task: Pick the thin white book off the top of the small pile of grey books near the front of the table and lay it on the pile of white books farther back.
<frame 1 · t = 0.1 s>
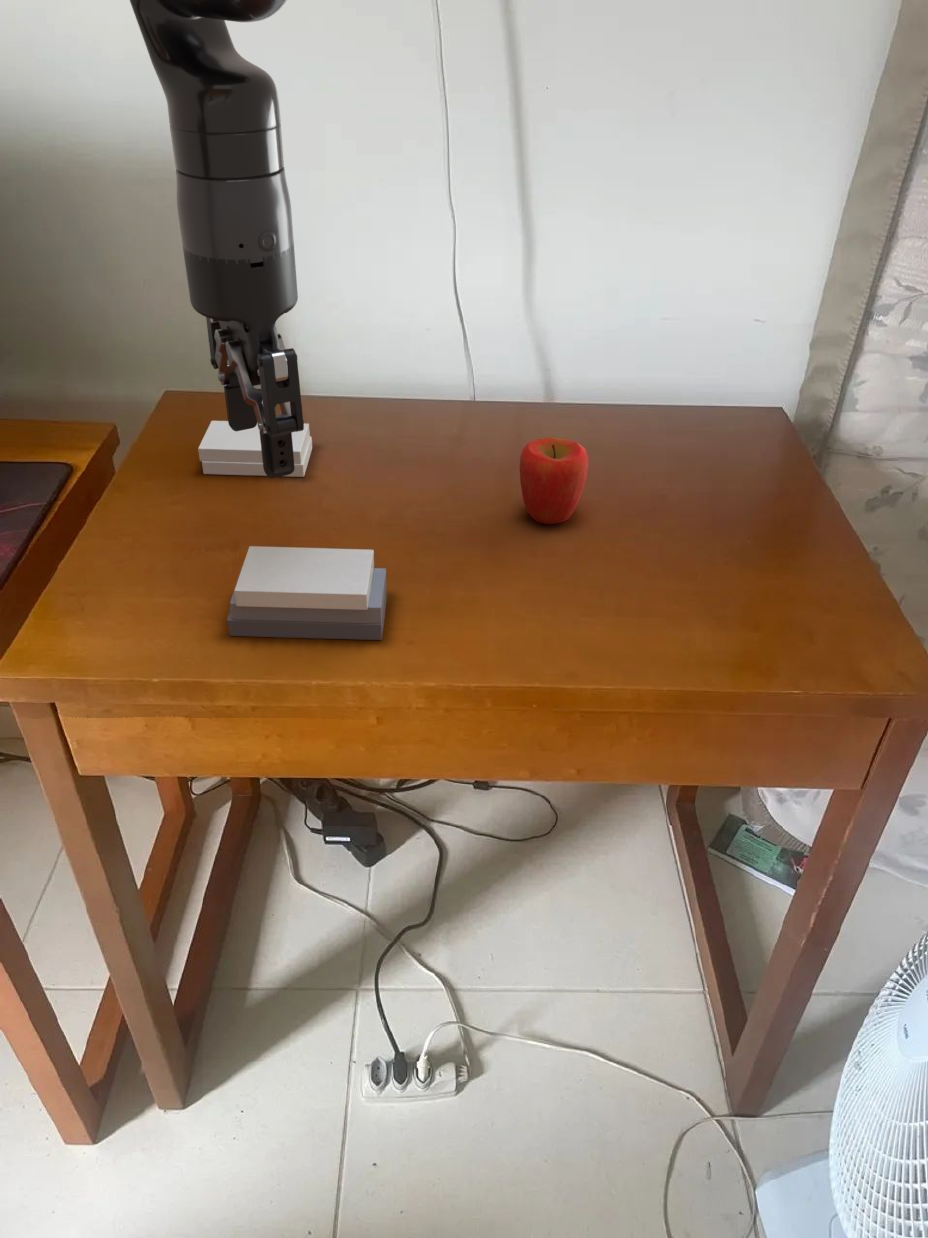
hand: (261, 450, 77), 12 cm above the table, tool pointing down, fingers open, 8 cm apart
grey books: (310, 617, 79), on the table
apple: (549, 517, 93), on the table
white books: (259, 460, 100), on the table
white book: (307, 585, 77), point 3 cm above the table, touching grey books
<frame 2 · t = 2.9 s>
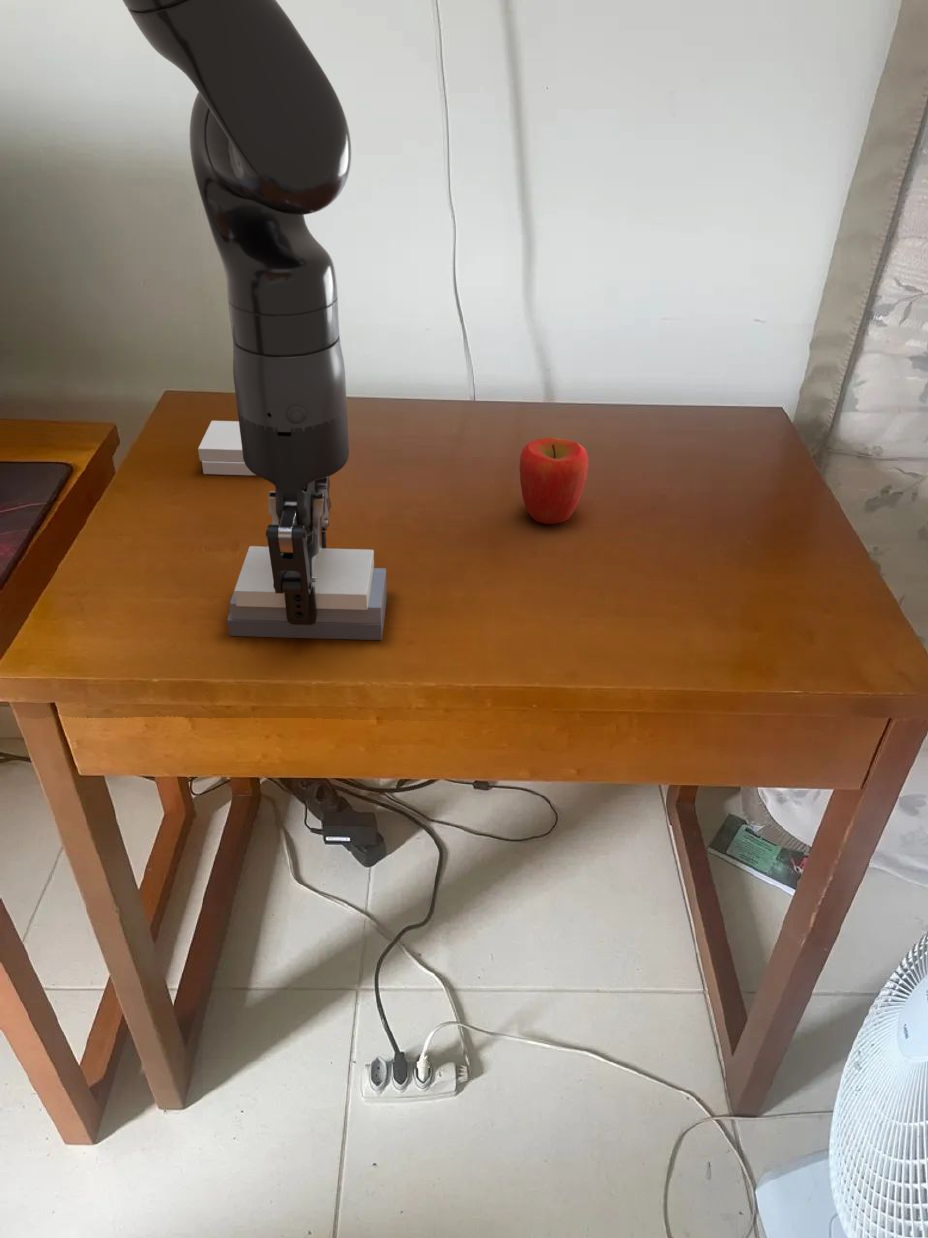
hand: (308, 595, 78), 2 cm above the table, tool pointing down, fingers closed on white book, 6 cm apart
white book: (307, 585, 77), point 3 cm above the table, touching grey books, gripper
everything else where it was.
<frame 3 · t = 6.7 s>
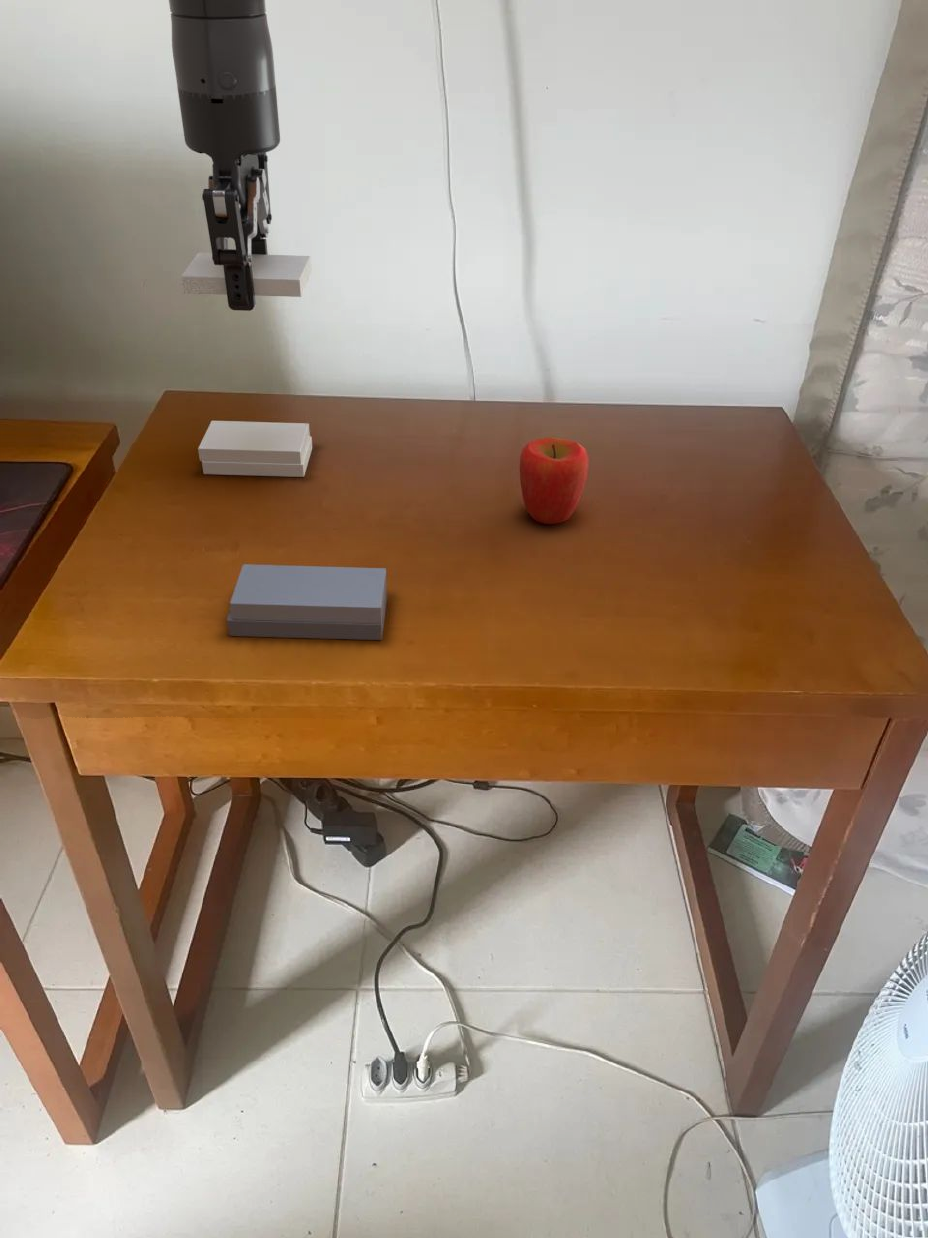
hand: (250, 294, 86), 18 cm above the table, tool pointing down, fingers closed on white book, 6 cm apart
white book: (249, 282, 86), point 19 cm above the table, touching gripper
everything else where it was.
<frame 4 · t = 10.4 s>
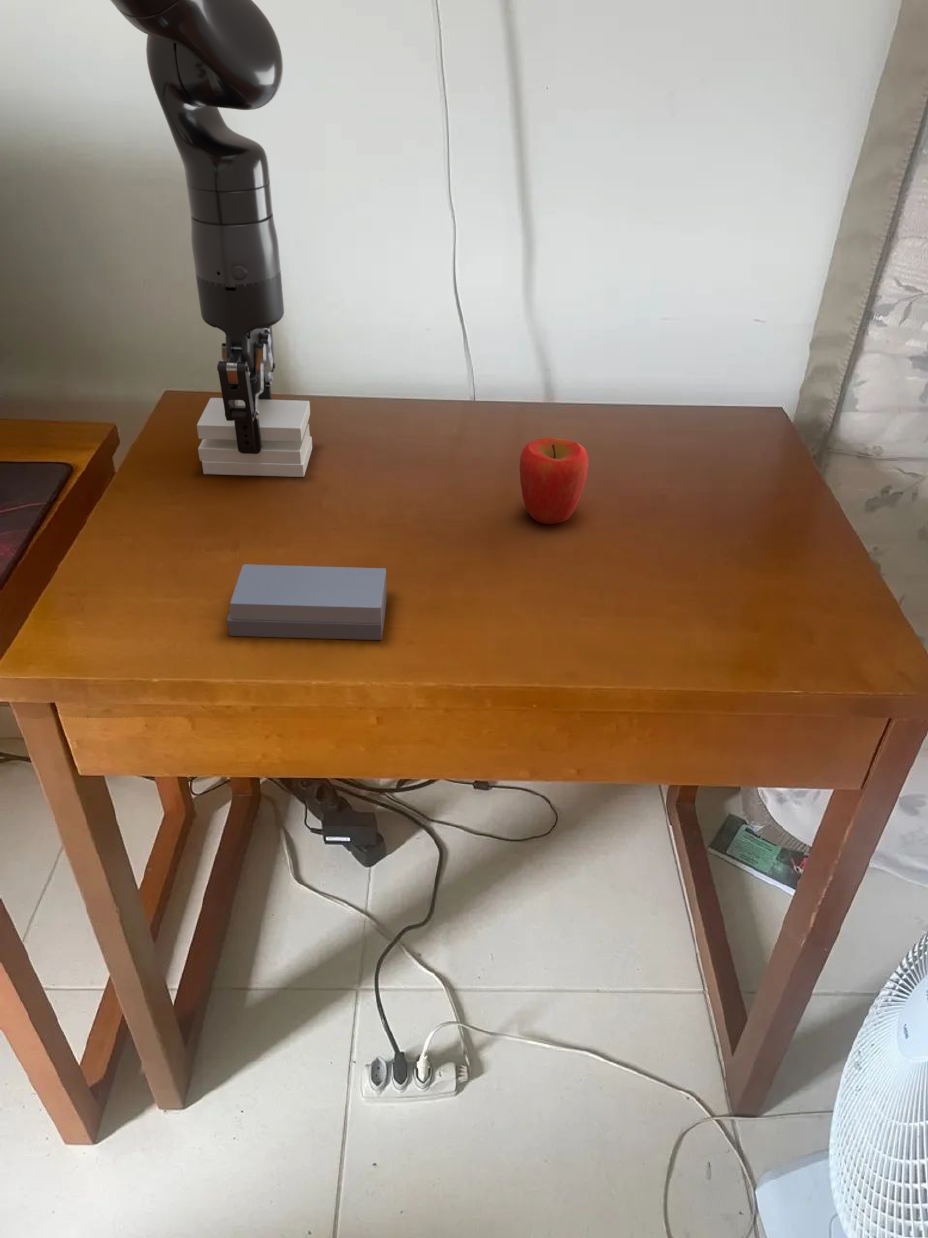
hand: (256, 435, 98), 3 cm above the table, tool pointing down, fingers closed on white book, 6 cm apart
white book: (255, 426, 98), point 4 cm above the table, touching gripper
everything else where it was.
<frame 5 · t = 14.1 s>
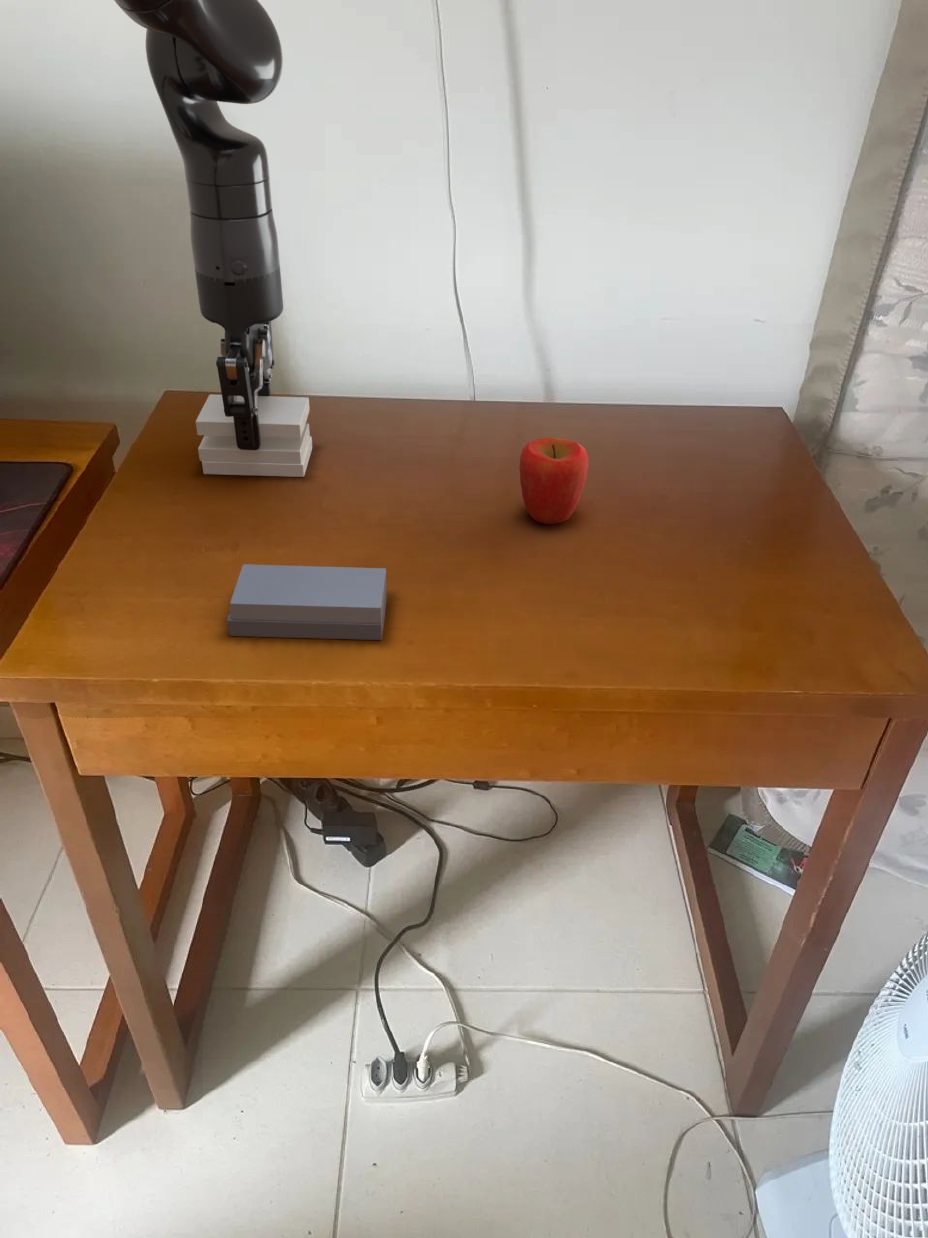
hand: (255, 432, 98), 3 cm above the table, tool pointing down, fingers closed on white book, 6 cm apart
white book: (255, 422, 97), point 4 cm above the table, touching gripper
everything else where it was.
when the fingers open (4 cm above the table, at t = 17.7 s): white book drops 2 cm, resting on white books.
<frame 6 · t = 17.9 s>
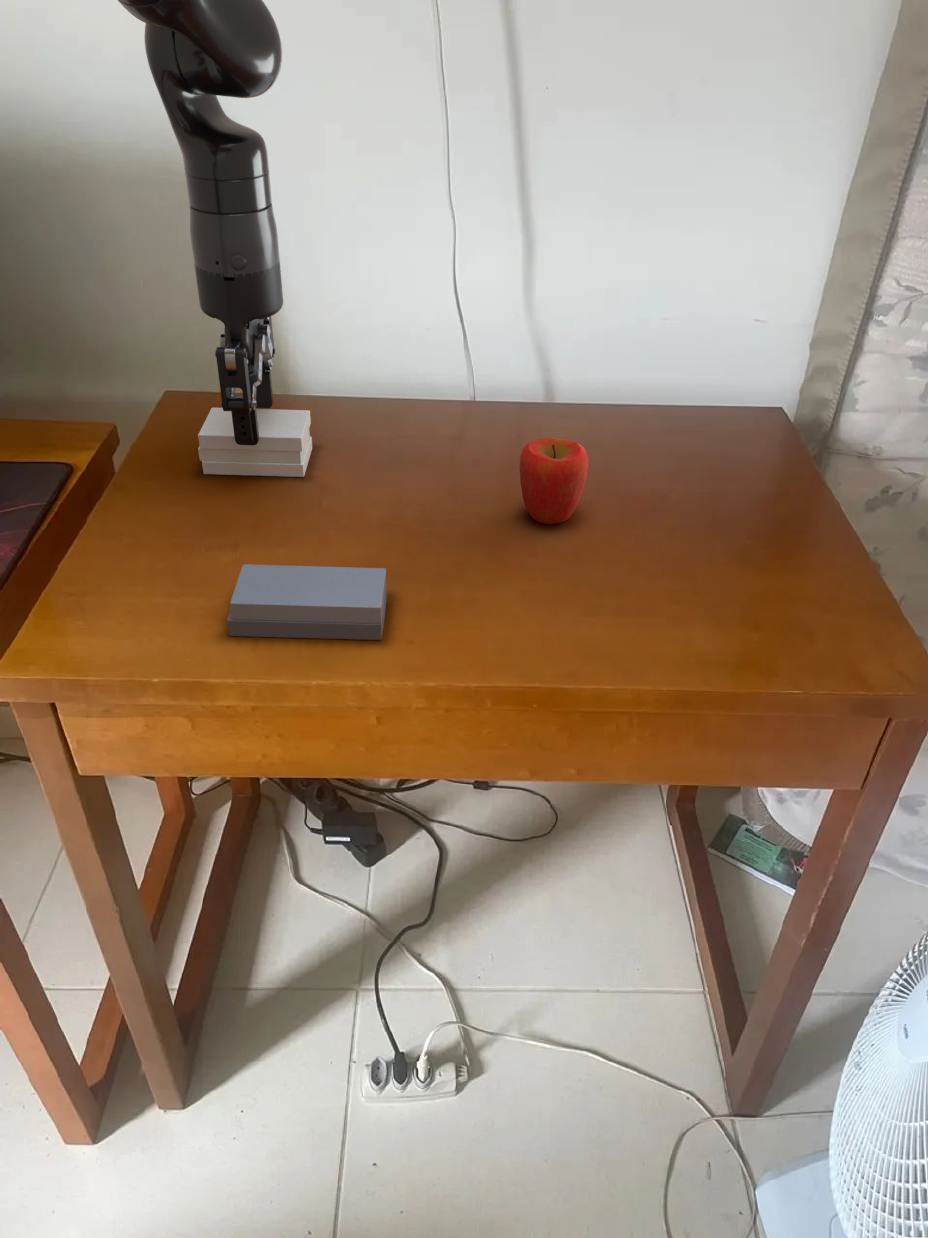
hand: (255, 424, 97), 4 cm above the table, tool pointing down, fingers open, 7 cm apart
white book: (256, 435, 98), point 3 cm above the table, touching white books
everything else where it was.
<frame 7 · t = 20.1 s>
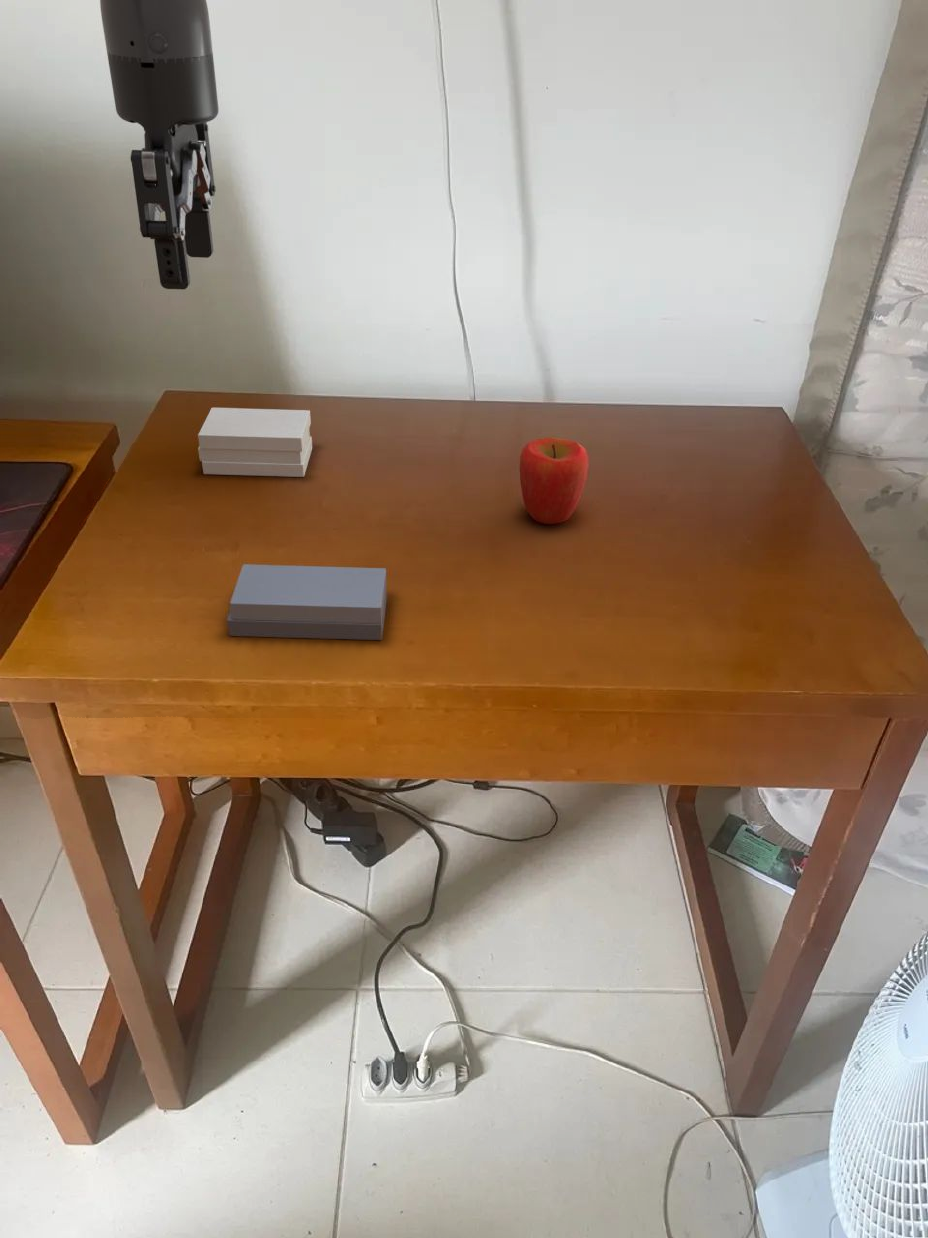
hand: (188, 271, 81), 21 cm above the table, tool pointing down, fingers open, 8 cm apart
nothing on the table moved.
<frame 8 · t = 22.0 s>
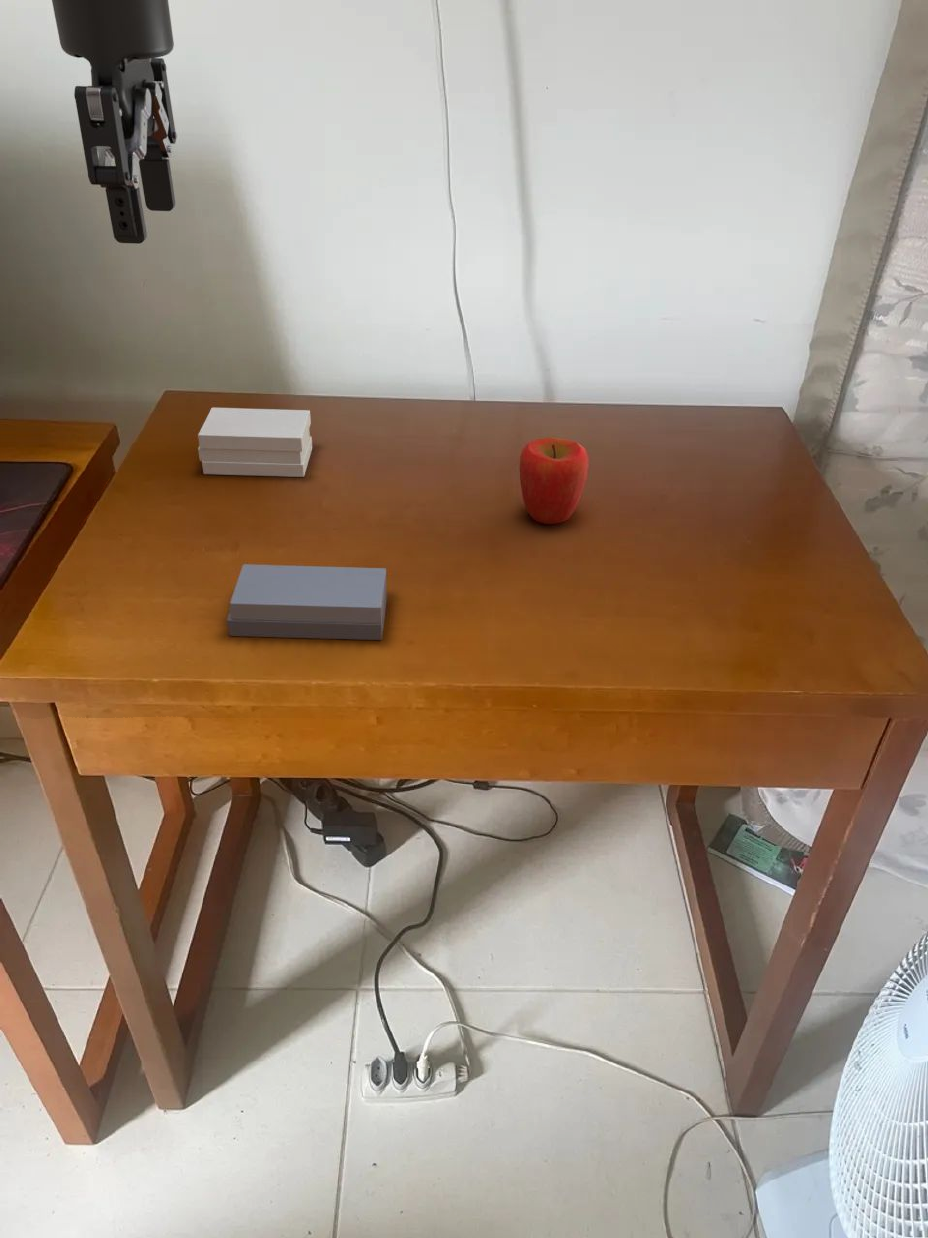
hand: (147, 225, 75), 26 cm above the table, tool pointing down, fingers open, 8 cm apart
nothing on the table moved.
at the end: white book 0.0 cm off-centre on the white books, point 2.8 cm above the white books's base; white book tilted 0°; the gripper is holding nothing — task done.
